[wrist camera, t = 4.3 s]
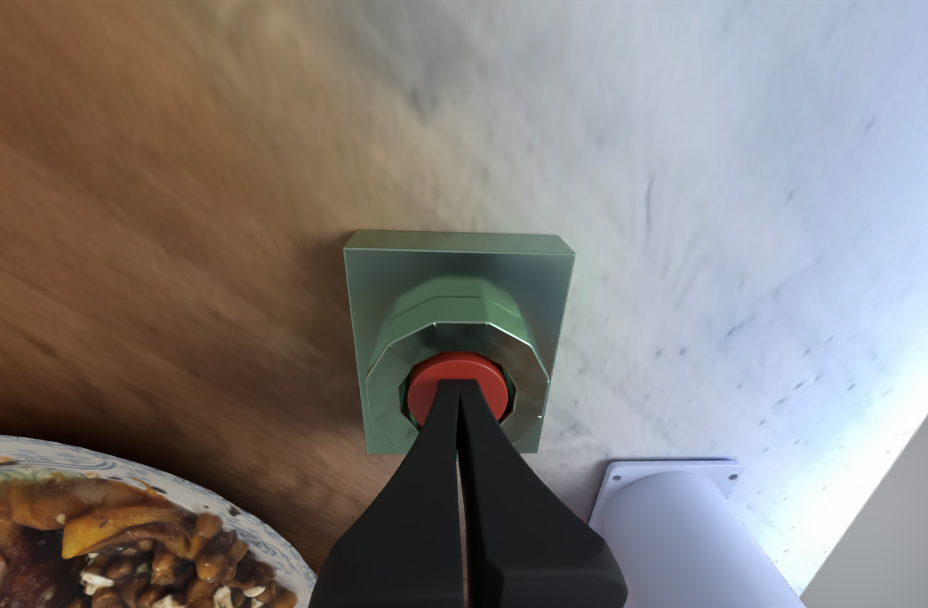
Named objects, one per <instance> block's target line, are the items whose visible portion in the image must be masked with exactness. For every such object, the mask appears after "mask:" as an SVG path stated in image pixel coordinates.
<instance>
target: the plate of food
mask: <svg viewBox="0 0 928 608" xmlns="http://www.w3.org/2000/svg"><path fill="white" fill-rule="evenodd" d="M317 578H318V577H317V575H316V574H315V573H314V572H313V571H312V570H311V569H310V568H309V566H308V565H307V564H306V562H305V561H304V559H303V558H302V557H301V556H300V554H299V553H298V552H297V551H296V549H295V548H294V547H293V546H291V544H290V543H288V542H287V541H286V539H284V538H283V537H282V536H281V535H280V534H278V533H277V532H276V531H275V530H273V529H272V528H271V527H269V526H268V525H267V524H265V523H264V522H263V521H261V520H260V519H258V518H257V517H255V516H254V515H252V514H250V513H248V512H246V511H244V510H243V509H241V508H238V507H237V506H235V505H234V504H232V503H231V502H229V501H228V500H226V499H224V498H223V497H221V496H219V495H217V494H216V493H214V492H212V491H210V490H208V489H206V488H204V487H202V486H199V485H197V484H195V483H192V482H189V481H187V480H184V479H181V478H179V477H177V476H174V475H172V474H169V473H166V472H163V471H161V470H158V469H155V468H152V467H149V466H146V465H143V464H139V463H135V462H132V461H129V460H125V459H121V458H118V457H114V456H111V455H107V454H103V453H99V452H94V451H91V450H88V449H84V448H81V447H76V446H71V445H66V444H61V443H56V442H50V441H44V440H38V439H31V438H23V437H15V436H6V435H0V608H308V605H309V601H310V598H311V594H312V591H313V588H314V586H315V583H316V581H317Z"/></svg>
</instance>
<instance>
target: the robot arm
mask: <svg viewBox="0 0 928 608" xmlns="http://www.w3.org/2000/svg"><path fill="white" fill-rule="evenodd" d="M457 452H458V461H459V469H460V478H461V486H462V494H463V503H464V511H465V524H466V551H467V584H468V608H806V607H805V606H804V605H803V603H802V602H801V600H800V599H799V598H798V596H797V595H796V594H795V592H794V591H793V590H792V588H791V587H790V585H789V584H788V583H787V581H786V580H785V579H784V577H783V576H782V575H781V573H780V572H779V570H778V569H777V568H776V566H775V565H774V564H773V562H772V561H771V559H770V558H769V557H768V555H767V554H766V553H765V551H764V550H763V549H762V547H761V546H760V544H759V543H758V542H757V540H756V539H755V538H754V536H753V535H752V533H751V532H750V531H749V529H748V528H747V527H746V525H745V524H744V523H743V521H742V520H741V518H740V517H739V516H738V514H737V513H736V512H735V510H734V509H733V508H732V506H731V505H730V503H729V502H728V501H727V498H728V497H729V495H730V493H731V492H732V490H733V488H734V487H735V485H736V483H737V482H738V480H739V478H740V477H741V475H742V473H743V472H744V466H743V465H742V464H741V463H740V462H739V461H735V460H721V461H616V462H612V463H611V464H609V466H608V467H607V470H606V473H605V476H604V479H603V482H602V485H601V488H600V491H599V494H598V497H597V500H596V503H595V506H594V509H593V512H592V515H591V518H590V521H589V524H588V525H587V524H586V523H584V522H583V521H582V520H581V519H580V518H579V517H577V516H576V515H575V514H574V513H573V512H572V511H571V510H570V509H569V508H568V507H567V506H566V505H565V504H564V503H563V502H561V501H560V499H559V498H558V497H557V496H556V495H555V494H554V493H553V492H552V491H551V490H550V489H549V488H548V487H547V486H546V485H545V484H544V483H543V482H542V481H541V480H540V478H539V477H538V476H537V475H536V474H535V473H534V471H533V470H532V469H531V468H530V467H529V466H528V464H527V463H526V462H525V461H524V459H523V458H522V457H521V455H520V454H519V453H518V451H517V450H516V449H515V447H514V446H513V444H512V443H511V442H510V440H509V439H508V437H507V436H506V434H505V433H504V431H503V429H502V428H501V426H500V425H499V423H498V421H497V419H496V418H495V416H494V414H493V412H492V411H491V409H490V407H489V405H488V403H487V401H486V399H485V397H484V395H483V392H482V390H481V387H480V385H479V382H478V381H477V380H476V379H441V380H439V381H438V386H437V390H436V394H435V397H434V400H433V403H432V406H431V408H430V410H429V413H428V415H427V417H426V420H425V422H424V424H423V426H422V428H421V430H420V432H419V434H418V436H417V438H416V440H415V441H414V443H413V445H412V447H411V448H410V450H409V452H408V453H407V455H406V457H405V458H404V460H403V461H402V463H401V465H400V466H399V467H398V469H397V470H396V472H395V473H394V475H393V476H392V477H391V479H390V480H389V482H388V483H387V484H386V486H385V487H384V488H383V490H382V491H381V492H380V493H379V495H378V496H377V497H376V498H375V499H374V501H373V502H372V503H371V504H370V505H369V507H368V508H367V509H366V510H365V512H364V513H363V514H362V515H361V516H360V517H359V518H358V519H357V520H356V522H355V523H354V524H353V525H352V526H351V527H350V528H349V529H348V530H347V531H346V532H345V533H344V534H343V535H342V536H341V537H340V538H339V539H338V540H337V541H336V542H335V544H334V545H333V546H332V548H331V550H330V552H329V554H328V556H327V558H326V560H325V562H324V564H323V566H322V569H321V571H320V573H319V575H318V578H317V581H316V583H315V586H314V588H313V591H312V594H311V598H310V601H309V605H308V608H463V566H462V552H461V538H460V524H459V507H458V490H457V470H456V457H457Z"/></svg>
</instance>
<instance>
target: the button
mask: <svg viewBox="0 0 928 608" xmlns="http://www.w3.org/2000/svg"><path fill="white" fill-rule="evenodd" d="M441 379H476V380H477V381H478V382H479V385H480V387H481V390H482V392H483V395H484V397H485V399H486V401H487V403H488V405H489V407H490V409H491V411H492V412H493V414H494V416H495V418H496V419H497V421H498V420H499V418H500V417H501V416H502V414H503V413H504V411H505V408H506V406H507V401H508V393H507V387H506V383H505V378H504V374H503V369H502V365H501V364H499V363H497V362H495V361H493V360H491V359H489V358H487V357H485V356H483V355H481V354H479V353H477V352H441V353H439V354H437V355H435V356H433V357H431V358H428V359H426V360H424V361H422V362H420V363H418V364H415V365H414V367H413V368H412V370H411V375H410V382H409V390H408V407H409V410H410V412H411V414H412V416H413V417H414V419H415V420H416V421H417V422H418V423H419V424H420V425H421V426H423V424H424V422H425V420H426V417H427V415H428V413H429V410H430V408H431V406H432V403H433V400H434V397H435V394H436V390H437V386H438V381H439V380H441Z"/></svg>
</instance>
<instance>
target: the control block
mask: <svg viewBox="0 0 928 608" xmlns="http://www.w3.org/2000/svg"><path fill="white" fill-rule="evenodd" d="M343 256H344V264H345V273H346V281H347V289H348V298H349V306H350V315H351V323H352V331H353V340H354V348H355V357H356V365H357V374H358V382H359V390H360V399H361V407H362V416H363V424H364V433H365V441H366V449H367V454H407V453H408V452H409V450H410V448H411V447H412V445H413V443H414V441H415V440H416V438H417V436H418V434H419V432H420V430H421V428H422V426H421V425H420V424H419V423H418V422H417V421H416V420H415V419H414V417H413V416H412V414H411V412H410V410H409V407H408V390H409V382H410V375H411V370H412V368H413V367H414V365H415V364H418V363H420V362H422V361H424V360H426V359H428V358H431V357H433V356H435V355H437V354H439V353H441V352H477V353H479V354H481V355H483V356H485V357H487V358H489V359H491V360H493V361H495V362H497V363H499V364H501V365H502V369H503V374H504V378H505V383H506V387H507V393H508V401H507V406H506V408H505V411H504V413H503V414H502V416H501V417H500V418H499V420H498V423H499V425H500V426H501V428H502V429H503V431H504V433H505V434H506V436H507V437H508V439H509V440H510V442H511V443H512V444H513V446H514V447H515V449H516V450H517V451H518V453H537V451H538V446H539V440H540V435H541V430H542V425H543V420H544V415H545V410H546V404H547V399H548V394H549V389H550V384H551V379H552V374H553V368H554V363H555V358H556V353H557V348H558V343H559V338H560V332H561V327H562V322H563V317H564V312H565V307H566V302H567V296H568V291H569V286H570V281H571V276H572V271H573V266H574V260H575V253H574V252H573V250H572V249H571V248H570V247H569V246H568V245H567V244H566V243H565V242H564V241H563V240H562V239H561V238H560V237H559V236H557V235H522V234H487V233H452V232H418V231H383V230H357V231H356V232H355V233H354V234H353V236H352V237H351V238H350V239H349V241H348V242H347V243H346V244H345V246H344V247H343ZM456 461H458V452H457V457H456Z"/></svg>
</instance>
